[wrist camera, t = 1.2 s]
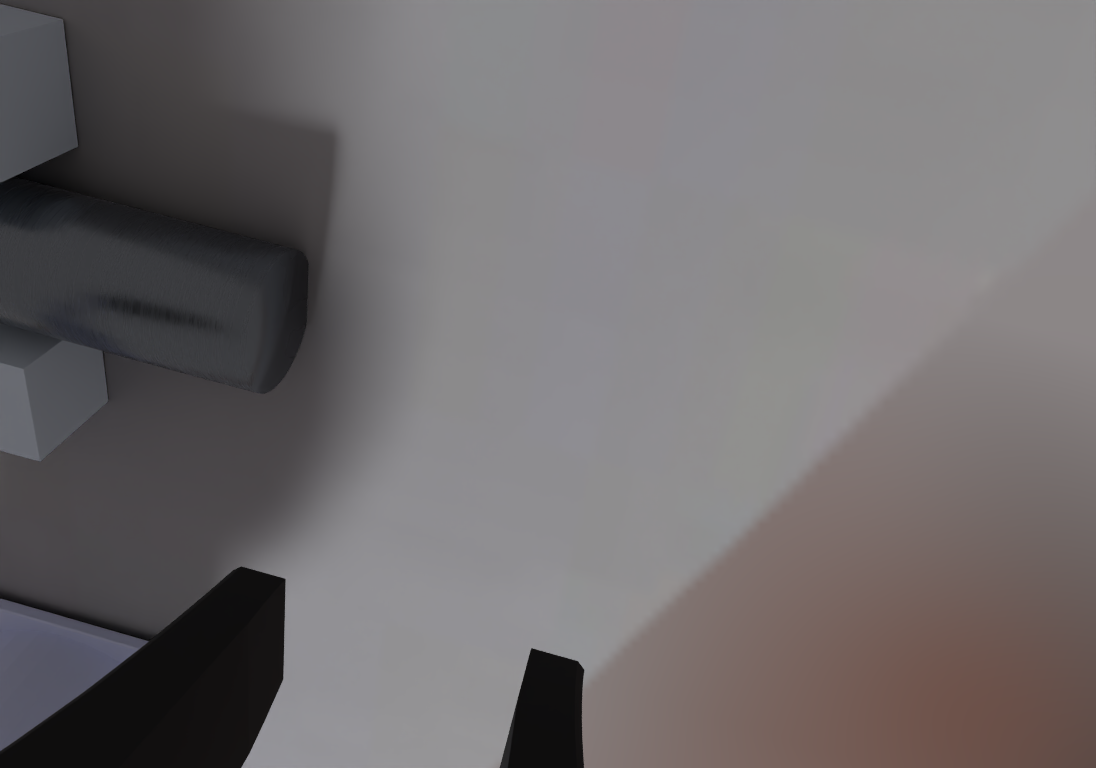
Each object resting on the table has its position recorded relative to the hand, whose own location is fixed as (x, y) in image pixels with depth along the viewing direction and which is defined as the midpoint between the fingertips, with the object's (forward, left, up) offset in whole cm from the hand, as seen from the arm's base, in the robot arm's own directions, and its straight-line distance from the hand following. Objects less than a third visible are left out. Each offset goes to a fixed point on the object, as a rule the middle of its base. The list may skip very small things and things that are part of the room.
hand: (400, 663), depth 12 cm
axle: (0, +10, -9) cm, 13 cm away
